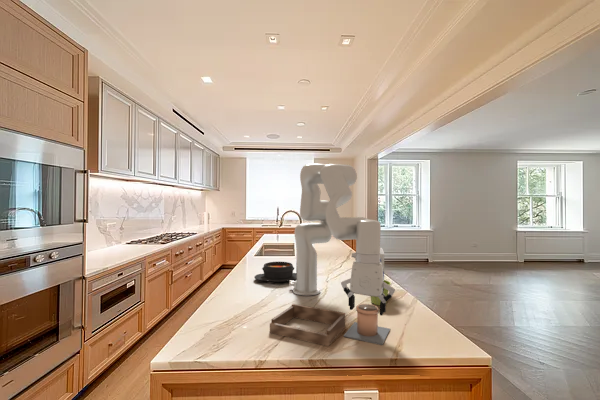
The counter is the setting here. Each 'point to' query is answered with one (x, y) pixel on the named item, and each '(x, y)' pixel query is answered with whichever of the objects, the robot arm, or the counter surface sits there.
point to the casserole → (277, 272)
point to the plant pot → (376, 299)
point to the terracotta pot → (367, 319)
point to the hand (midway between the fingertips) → (366, 311)
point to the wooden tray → (310, 314)
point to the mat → (375, 339)
